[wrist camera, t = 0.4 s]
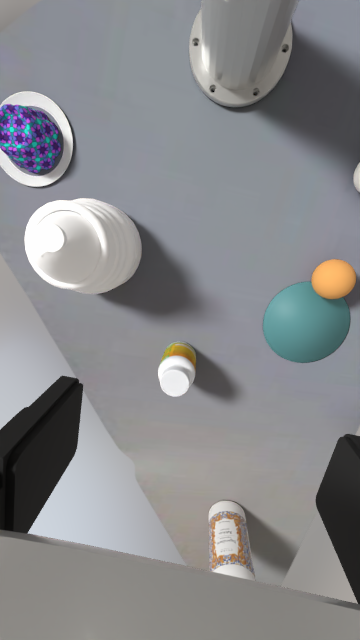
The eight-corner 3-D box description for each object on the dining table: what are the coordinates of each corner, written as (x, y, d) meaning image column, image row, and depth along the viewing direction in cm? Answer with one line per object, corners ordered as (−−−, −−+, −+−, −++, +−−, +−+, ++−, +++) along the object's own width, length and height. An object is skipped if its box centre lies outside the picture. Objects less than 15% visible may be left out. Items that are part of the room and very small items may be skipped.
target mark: (250, 301, 45) (251, 302, 45) (334, 267, 42) (335, 267, 42) (279, 373, 47) (279, 373, 47) (359, 344, 45) (360, 344, 45)
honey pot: (107, 184, 42) (39, 142, 25) (158, 258, 44) (129, 267, 27) (43, 237, 45) (-58, 232, 27) (94, 304, 47) (31, 340, 29)
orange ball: (300, 267, 43) (314, 271, 38) (338, 252, 42) (357, 253, 37) (312, 301, 44) (327, 308, 39) (348, 286, 43) (369, 292, 38)
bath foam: (241, 496, 54) (262, 636, 35) (247, 525, 56) (271, 673, 37) (205, 501, 55) (206, 639, 36) (212, 529, 57) (217, 676, 37)
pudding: (-3, 183, 43) (-30, 175, 38) (-9, 90, 40) (-39, 68, 35) (75, 191, 43) (57, 184, 38) (75, 97, 40) (57, 76, 35)
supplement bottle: (169, 336, 47) (161, 359, 38) (200, 346, 47) (200, 372, 38) (160, 365, 49) (149, 394, 39) (190, 375, 49) (187, 406, 39)
